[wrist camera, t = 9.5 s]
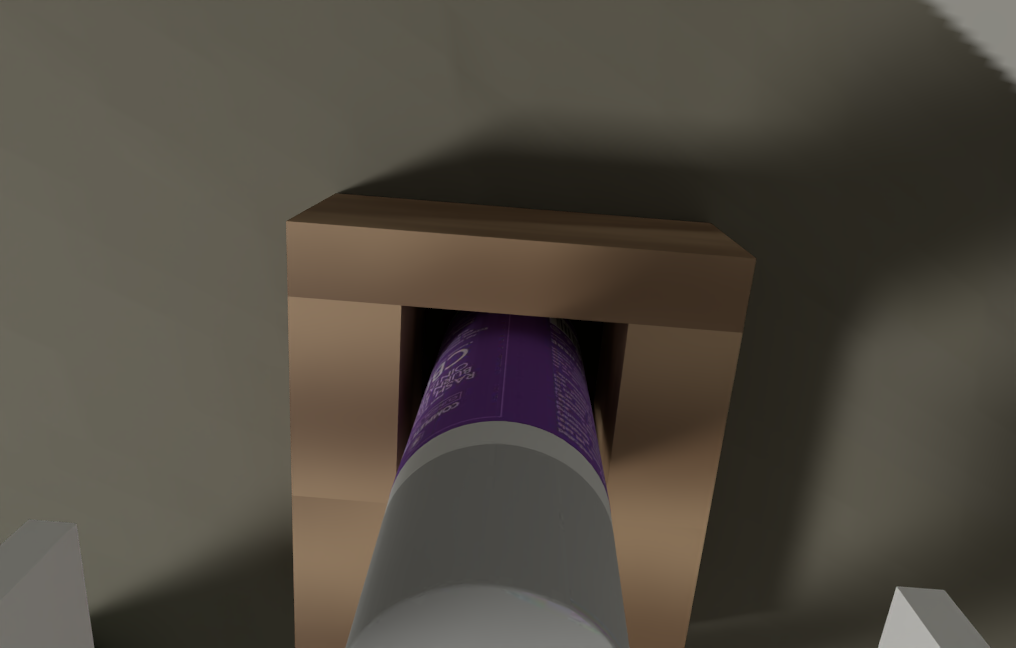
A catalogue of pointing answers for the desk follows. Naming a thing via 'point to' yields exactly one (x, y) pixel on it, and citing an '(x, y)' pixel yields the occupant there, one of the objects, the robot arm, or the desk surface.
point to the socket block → (520, 291)
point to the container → (498, 503)
